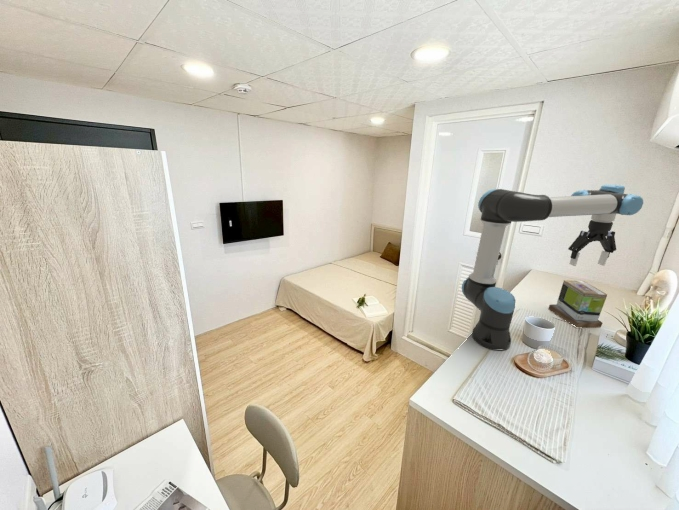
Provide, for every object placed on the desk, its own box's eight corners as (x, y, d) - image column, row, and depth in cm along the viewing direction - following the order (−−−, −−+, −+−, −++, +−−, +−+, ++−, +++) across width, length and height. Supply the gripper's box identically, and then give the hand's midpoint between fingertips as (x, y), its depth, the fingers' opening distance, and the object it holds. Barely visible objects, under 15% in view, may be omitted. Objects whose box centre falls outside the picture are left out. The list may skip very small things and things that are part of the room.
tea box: (598, 322, 123) (608, 294, 118) (574, 320, 125) (583, 293, 120) (576, 305, 137) (585, 280, 132) (555, 304, 139) (563, 279, 134)
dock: (575, 328, 124) (577, 322, 123) (548, 309, 140) (549, 304, 139) (600, 327, 124) (602, 322, 123) (570, 308, 140) (571, 303, 139)
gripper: (620, 218, 119) (605, 261, 127) (566, 219, 119) (554, 262, 126) (638, 222, 112) (621, 267, 119) (581, 222, 112) (567, 268, 119)
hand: (586, 264), depth 123 cm, fingers open, 13 cm apart
